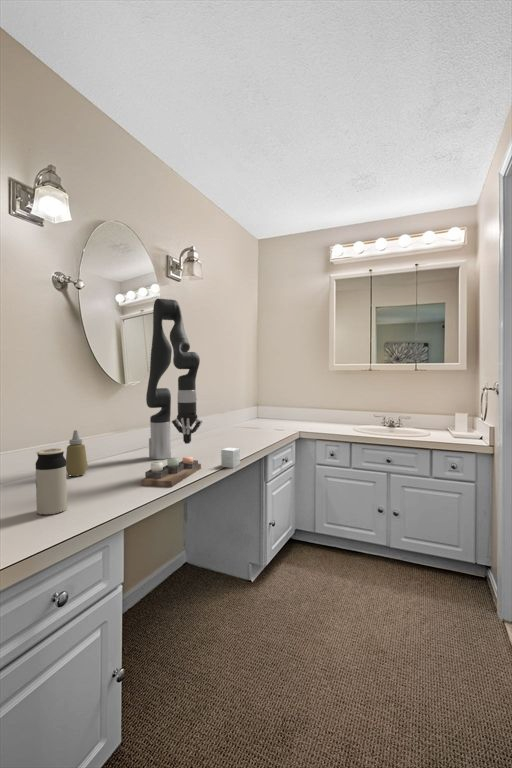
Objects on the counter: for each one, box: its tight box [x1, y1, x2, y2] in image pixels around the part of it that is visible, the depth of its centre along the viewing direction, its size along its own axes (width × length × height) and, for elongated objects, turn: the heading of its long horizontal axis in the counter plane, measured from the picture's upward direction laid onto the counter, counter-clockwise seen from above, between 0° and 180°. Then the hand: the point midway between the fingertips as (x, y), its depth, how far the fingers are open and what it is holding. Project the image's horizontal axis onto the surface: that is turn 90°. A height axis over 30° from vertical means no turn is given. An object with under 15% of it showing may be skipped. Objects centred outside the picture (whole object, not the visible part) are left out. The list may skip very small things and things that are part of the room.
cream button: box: [150, 461, 164, 472], centre depth 149 cm, size 4×4×3 cm
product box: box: [220, 447, 241, 469], centre depth 173 cm, size 6×6×7 cm
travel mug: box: [35, 447, 68, 515], centre depth 118 cm, size 8×8×18 cm
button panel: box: [140, 459, 202, 488], centre depth 157 cm, size 12×28×4 cm, turn 166°
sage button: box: [166, 457, 180, 468], centre depth 157 cm, size 4×4×3 cm
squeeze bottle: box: [65, 429, 88, 476], centre depth 160 cm, size 8×8×18 cm
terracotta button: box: [182, 456, 194, 463], centre depth 164 cm, size 4×4×3 cm
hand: (187, 443), depth 164 cm, fingers closed
